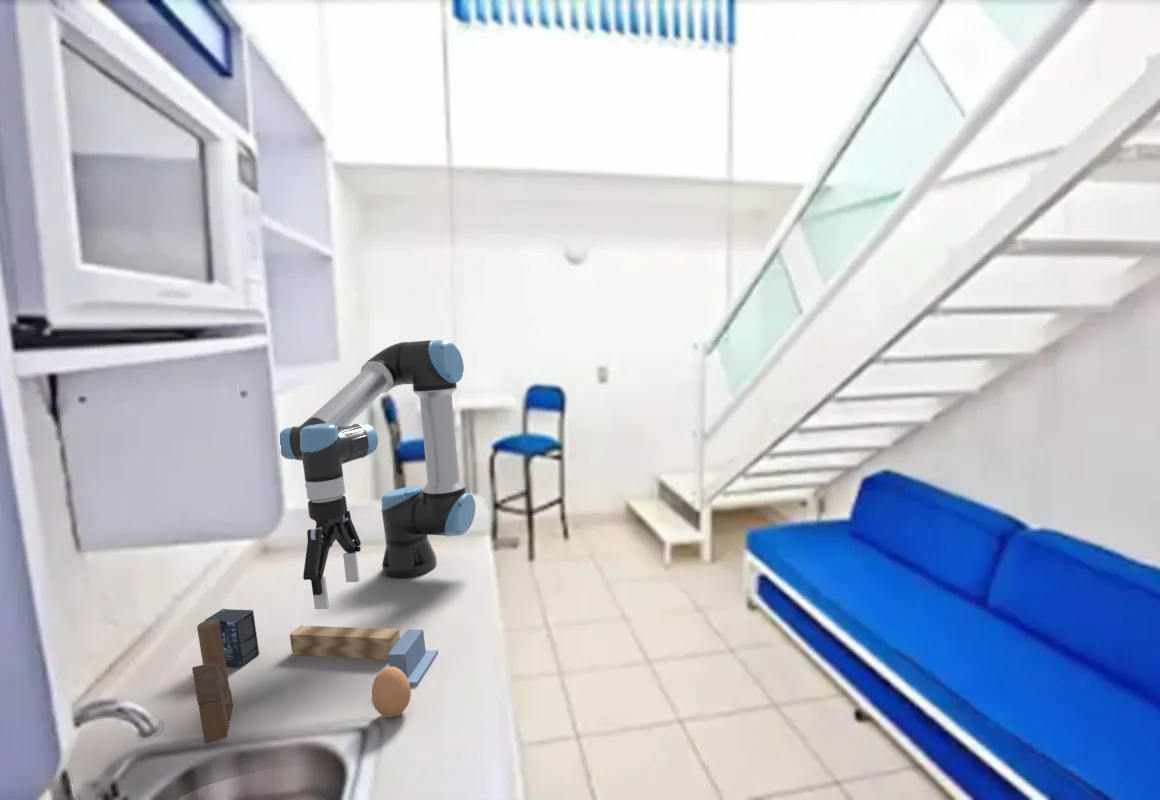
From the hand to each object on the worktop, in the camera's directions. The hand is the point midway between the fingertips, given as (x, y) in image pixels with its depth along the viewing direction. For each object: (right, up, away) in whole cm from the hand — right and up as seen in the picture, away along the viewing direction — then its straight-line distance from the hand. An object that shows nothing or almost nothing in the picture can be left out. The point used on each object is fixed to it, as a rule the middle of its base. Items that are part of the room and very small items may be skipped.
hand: (338, 594), depth 140 cm
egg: (+18, -15, -22) cm, 33 cm away
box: (-23, -15, +2) cm, 28 cm away
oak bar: (+1, -13, +2) cm, 14 cm away
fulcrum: (+17, -13, -7) cm, 23 cm away
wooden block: (-14, -18, -21) cm, 31 cm away
